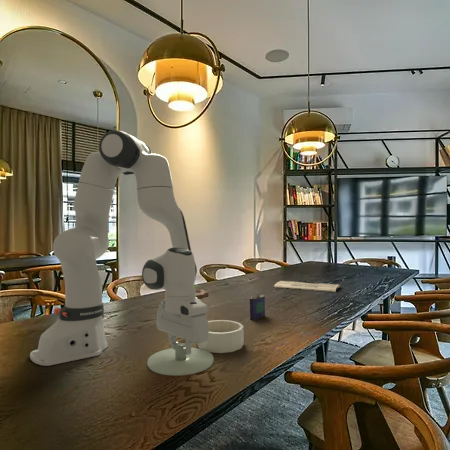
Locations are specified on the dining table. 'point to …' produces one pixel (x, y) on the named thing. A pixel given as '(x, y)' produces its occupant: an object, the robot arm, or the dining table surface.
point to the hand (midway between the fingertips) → (180, 351)
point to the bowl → (223, 336)
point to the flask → (257, 307)
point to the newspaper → (307, 286)
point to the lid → (180, 361)
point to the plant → (200, 293)
